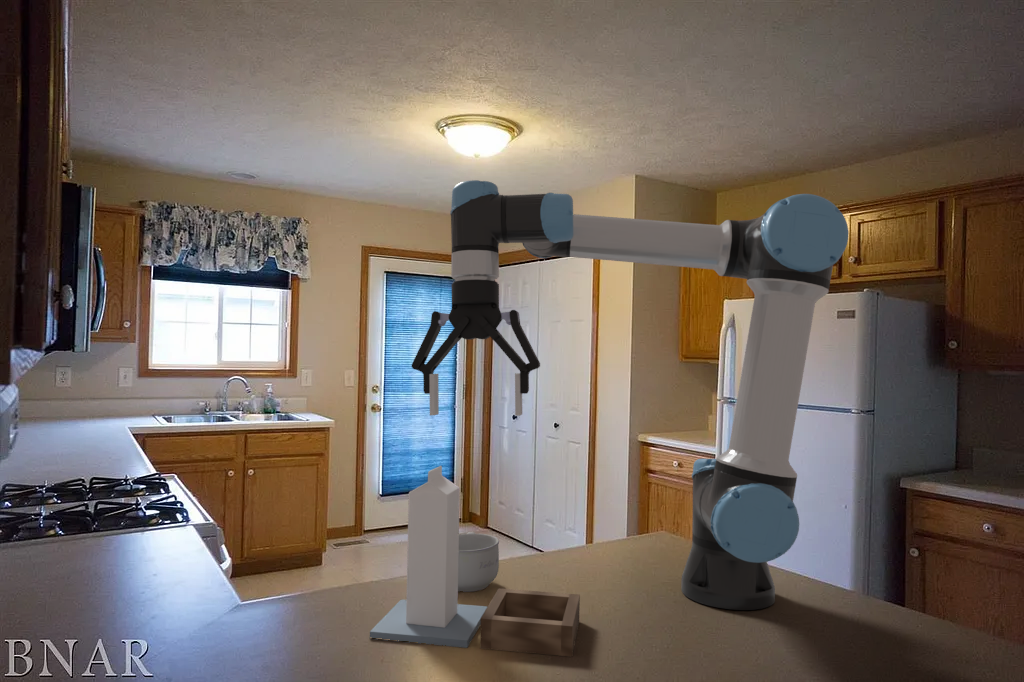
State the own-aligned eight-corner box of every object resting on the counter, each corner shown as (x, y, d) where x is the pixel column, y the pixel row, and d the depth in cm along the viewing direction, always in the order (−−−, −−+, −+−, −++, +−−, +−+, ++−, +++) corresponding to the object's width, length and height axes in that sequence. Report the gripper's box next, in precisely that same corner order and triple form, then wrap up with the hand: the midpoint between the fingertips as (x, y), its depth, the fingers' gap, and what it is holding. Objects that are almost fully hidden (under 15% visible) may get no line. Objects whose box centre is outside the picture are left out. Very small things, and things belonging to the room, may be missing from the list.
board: (487, 613, 105) (487, 606, 105) (467, 647, 92) (467, 640, 92) (400, 605, 107) (401, 599, 107) (369, 638, 94) (369, 631, 94)
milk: (405, 624, 97) (407, 470, 98) (420, 609, 103) (422, 464, 104) (446, 628, 96) (447, 472, 97) (458, 612, 102) (460, 466, 103)
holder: (579, 621, 102) (579, 594, 102) (572, 656, 90) (572, 626, 90) (498, 614, 104) (498, 588, 104) (480, 648, 92) (480, 618, 92)
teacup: (490, 599, 111) (491, 550, 111) (427, 594, 113) (428, 545, 113) (507, 573, 124) (508, 530, 125) (451, 569, 127) (451, 526, 127)
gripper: (555, 281, 109) (556, 413, 109) (406, 285, 113) (406, 412, 112) (551, 275, 102) (553, 417, 101) (392, 280, 105) (392, 416, 105)
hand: (476, 415), depth 107 cm, fingers open, 13 cm apart
